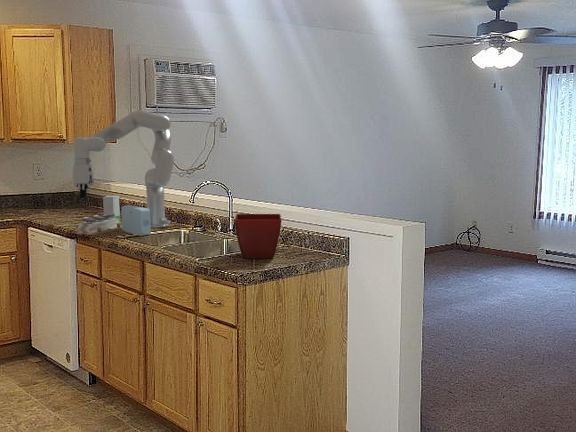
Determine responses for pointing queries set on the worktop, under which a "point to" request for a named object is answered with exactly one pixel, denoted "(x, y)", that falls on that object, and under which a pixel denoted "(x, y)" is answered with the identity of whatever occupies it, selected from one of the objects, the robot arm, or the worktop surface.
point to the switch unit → (99, 227)
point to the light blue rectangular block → (136, 220)
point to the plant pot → (258, 234)
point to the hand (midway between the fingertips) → (83, 197)
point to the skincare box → (111, 206)
